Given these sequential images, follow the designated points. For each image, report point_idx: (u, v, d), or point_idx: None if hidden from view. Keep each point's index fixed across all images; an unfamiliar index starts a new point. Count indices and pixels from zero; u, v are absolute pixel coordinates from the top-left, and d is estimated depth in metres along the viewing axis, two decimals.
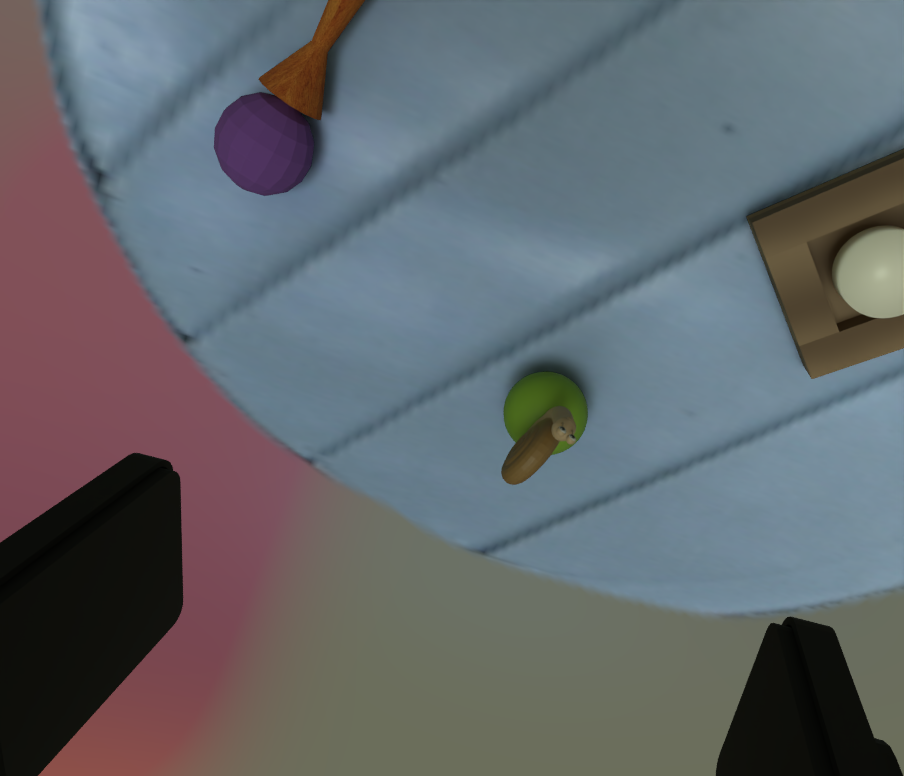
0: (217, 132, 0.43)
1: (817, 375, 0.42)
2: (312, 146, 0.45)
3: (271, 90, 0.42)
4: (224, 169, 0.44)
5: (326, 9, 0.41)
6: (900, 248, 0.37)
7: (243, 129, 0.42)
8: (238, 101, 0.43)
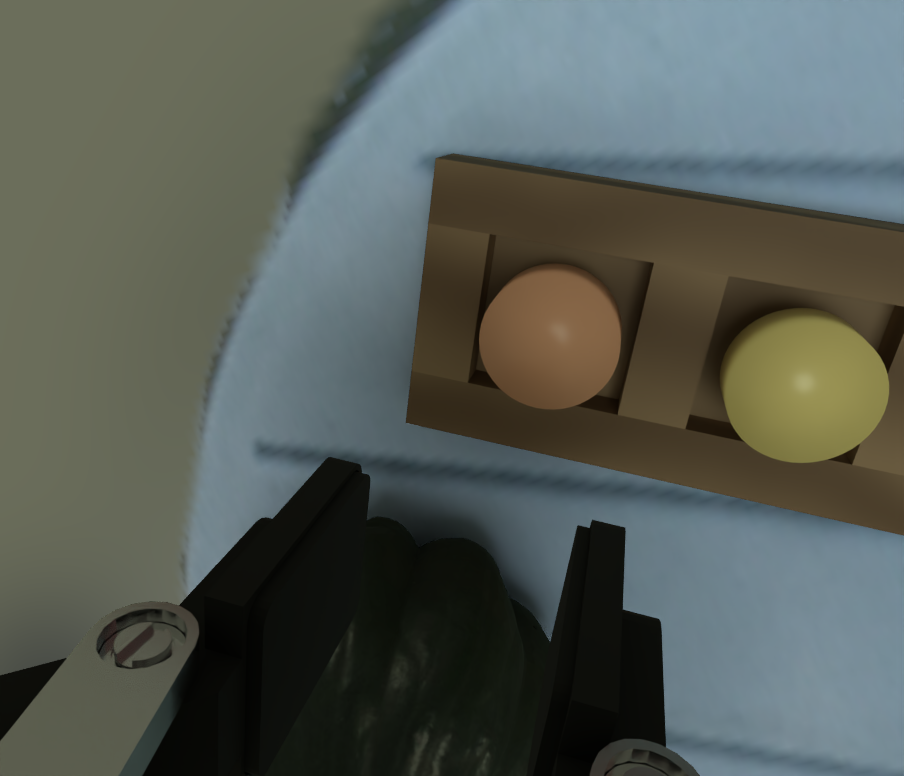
0: None
1: None
2: None
3: None
4: None
5: None
6: None
7: None
8: None
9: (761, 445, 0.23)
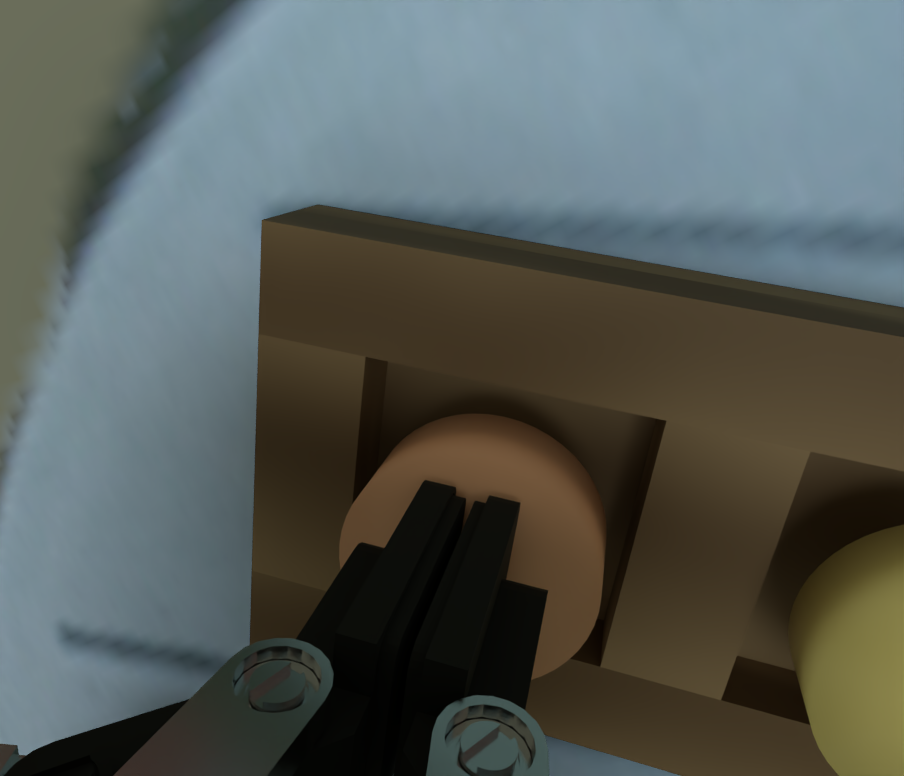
0: None
1: None
2: None
3: None
4: None
5: None
6: None
7: None
8: None
9: None
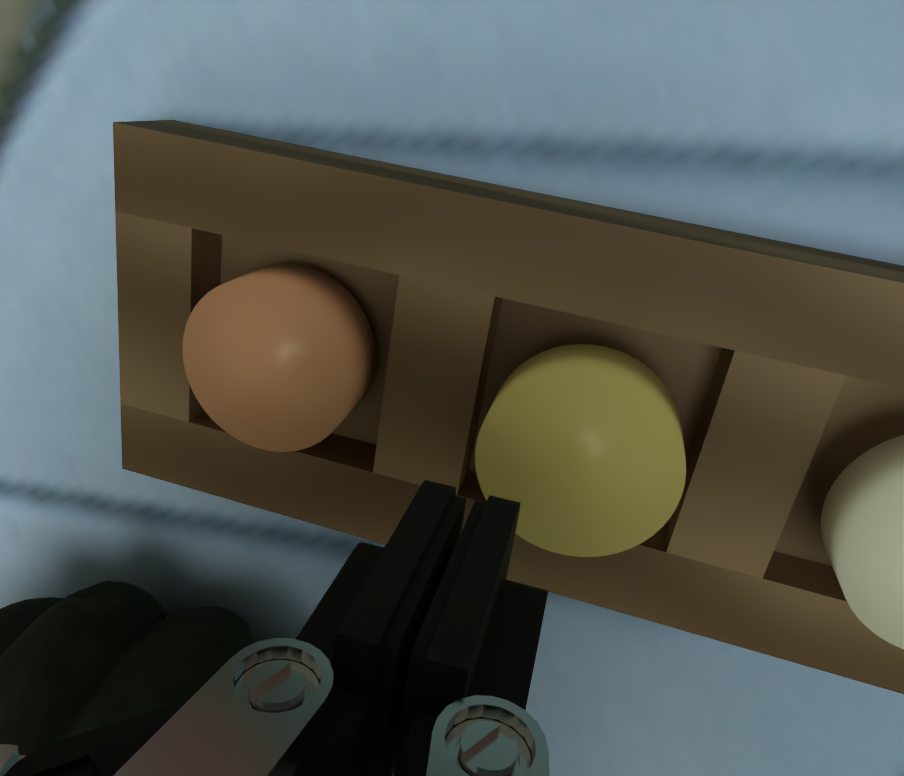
0: None
1: None
2: None
3: None
4: None
5: None
6: (896, 600, 0.15)
7: None
8: None
9: (526, 530, 0.17)
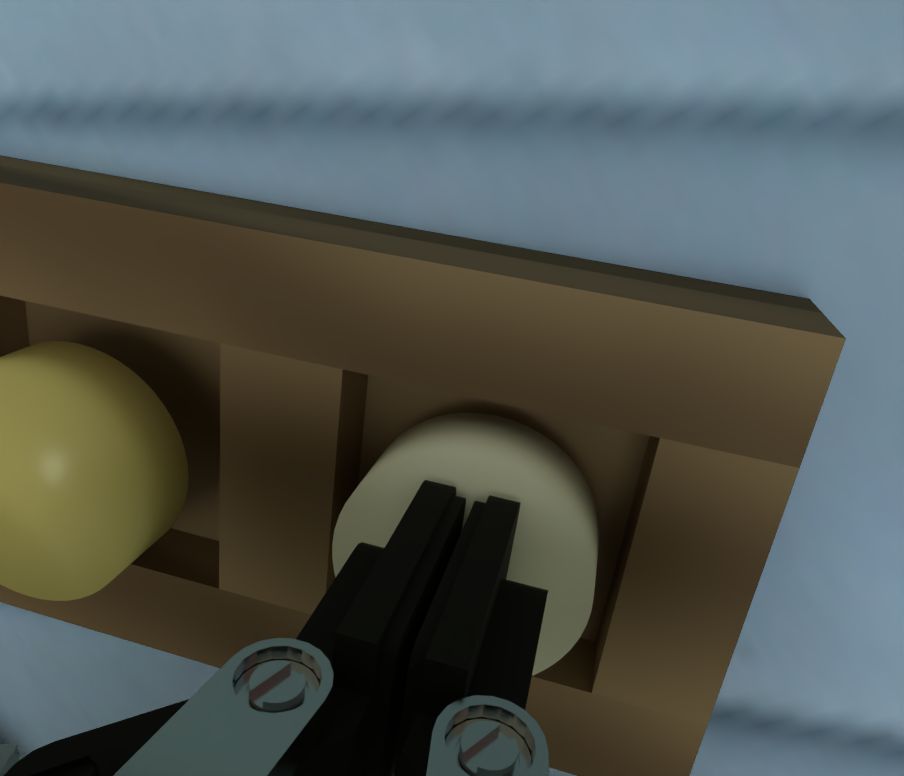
0: None
1: (816, 331, 0.11)
2: None
3: None
4: None
5: None
6: None
7: None
8: None
9: None
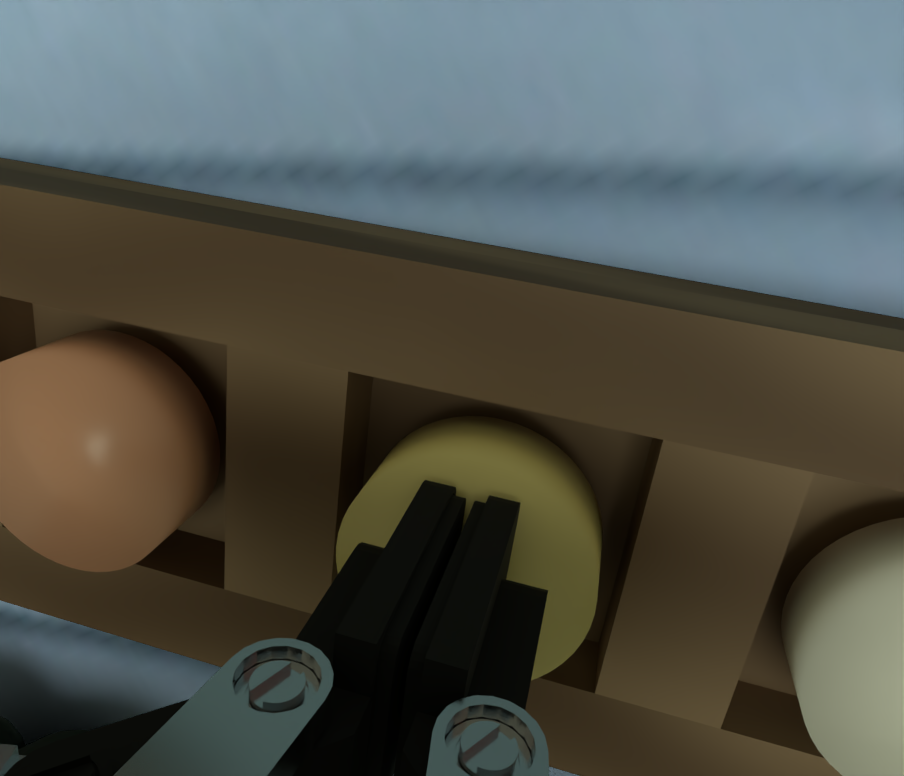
0: None
1: None
2: None
3: None
4: None
5: None
6: (876, 742, 0.12)
7: None
8: None
9: None
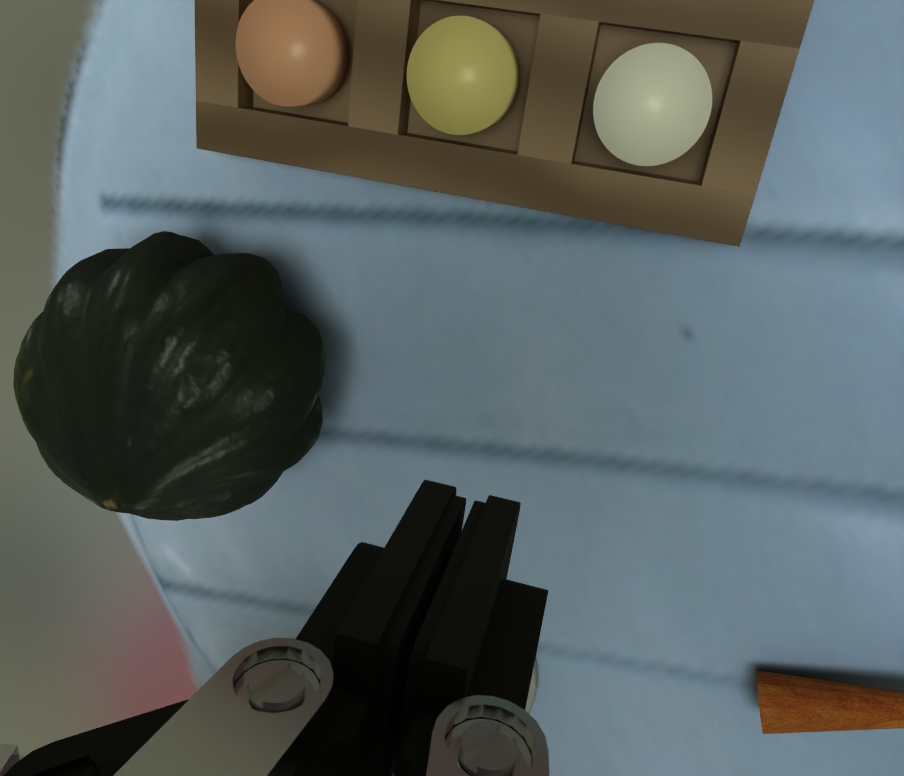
0: None
1: None
2: None
3: None
4: None
5: None
6: (622, 132, 0.30)
7: None
8: None
9: (436, 122, 0.31)
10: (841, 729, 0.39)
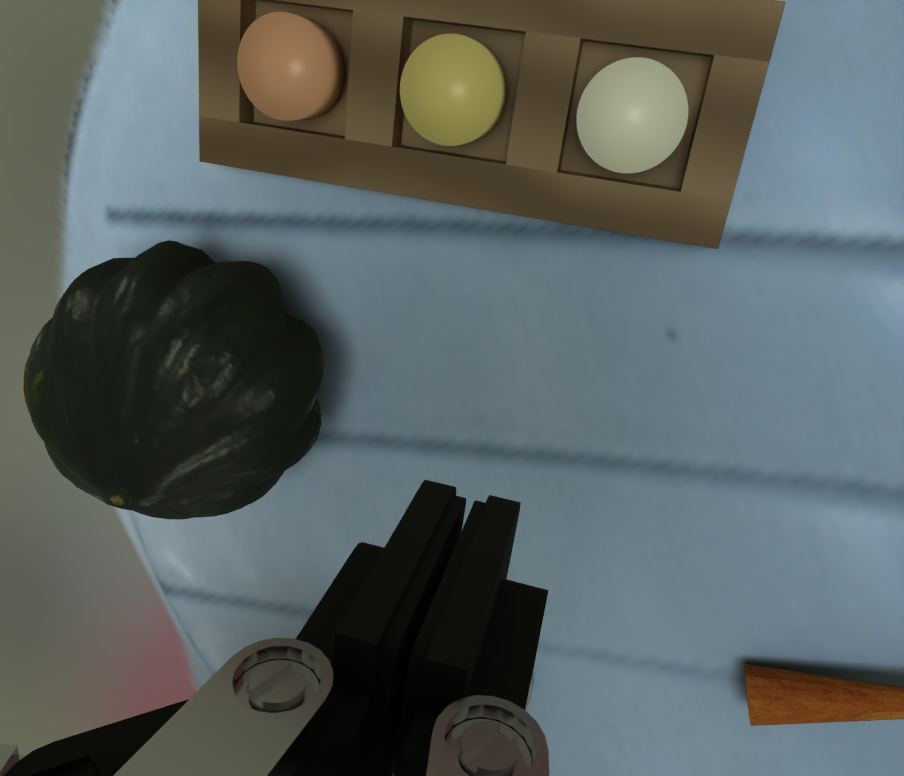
0: None
1: (775, 1, 0.29)
2: None
3: None
4: None
5: None
6: (605, 142, 0.31)
7: None
8: None
9: (428, 134, 0.33)
10: (827, 721, 0.40)
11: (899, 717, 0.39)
